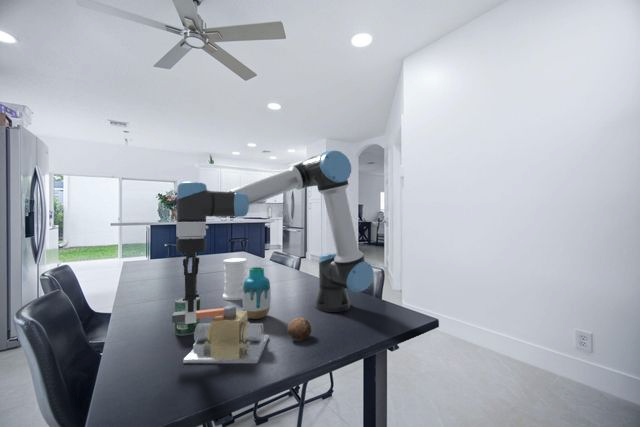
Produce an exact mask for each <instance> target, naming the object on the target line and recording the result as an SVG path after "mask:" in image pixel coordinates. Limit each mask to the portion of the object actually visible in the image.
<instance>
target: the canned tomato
mask: <svg viewBox="0 0 640 427" xmlns="http://www.w3.org/2000/svg"><path fill="white" fill-rule="evenodd" d="M183 298H185V295H184V296H180V297H177V298H176V299H175V300H174V312H180V311H185V302H186V301H183ZM196 298H197V305H196V311H200V310H201V297H200V296H199V297H196ZM199 323H201V318H199V319H196V323H190V324H185V321H184V322H176V323H174V334H175V335H176V336H181V337H183V336H188V335H189V336H190V335H194V332H195V328H196V326H197V324H199Z"/></svg>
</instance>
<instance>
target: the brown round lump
mask: <svg viewBox="0 0 640 427" xmlns="http://www.w3.org/2000/svg"><path fill="white" fill-rule="evenodd" d="M286 331H287V334H288V336H289V337H290V338H291V339H292V340H294V341H298V342H301V341H305V340H307V339H308V338H310V336H311V334H312V326H311V323H310V322H309V321H308V320H307V318H304V317H296V318H293V319H292V320H291V321H289V323H288V324H287V328H286Z"/></svg>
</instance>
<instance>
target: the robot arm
mask: <svg viewBox="0 0 640 427" xmlns="http://www.w3.org/2000/svg"><path fill="white" fill-rule="evenodd" d="M351 174H352V164H351V161H350V159H349V158H348V156H347V155H346V154H344V153H343V152H342V151H340V150H334V149H333V150H328V151H325V152H323V153H320V154H318V155H315V156H311V157H309V158H308V159H306V160H303V161H302V162H299V163H298V164H295V165H293V166H290V167H289V168H288V170H285V171H283V172H279V173H277V174H274V175H271V176H267V177H264V178H261V179H259V180H255V181H253V182H250V183H247V184H244V185H241V186H238V187H235V188H232V189H229V190H225V191H214V190H213V191H212V190H208V188H207V185H206V184H205V183H203V182H196V181H183V182H180V183H179V184H178V185H177V191H176V192H177V193H176V224H175V225H176V226H175V227H176V235H175V236H176V237H177V239H176V241H175V242H176V248H175V249H176V252H177V253H179V254H180V253H181V254H185V258H183V259H182V266H183V275H184V288H185V289H184V296H185V298H183V301H186V302H185V324H190V323H196V305H197V298H196V297H200V294H199V293H198V290H197V285H198V284H197V282H198V281H197V280H198V278H197V277H198V274H199V264H200V257H197V253H203V252H205V251H206V250H207V239H206V238H205V236H207V229H209V225H206V224H207V217H215V218H220V217H221V218H222V217H224V218H226V217H228V218H229V217H230V218H232V217H233V218H240V217H246V216H247V215H248V213H249V210H250V206H253V205H255V204H257V203H260V202H263V201H265V200H268V199H271V198H274V197H276V196H279V195H281V194H285V193H286V192H290V191H293V190H295V189H296V190H302V189H306V188H309V187H311V188H312V187H316V186H317V191H318V192H319V193H320V194H321V195H323V199H324V204H325V208H326V212H327V213H326V214H327V216H328V220H329V226H330V231H331V233H332V234H331V235H332V238H333V244H334V247H335V252H334V253H324V254H321V255H320V256H319V257H318V281H319V282H318V291H317V295H316V298H315V303H314V307H315V308H316V309H317V310H319V311H322V312H326V313H340V312H346V311H348V310H349V309H350V308H351V301H350V298H349V295H348V291H347V290H349V291H350V292H356V293H360V292H361V293H362V292H363V291H366V290H367V289H368V288H369V287H370V285H371V283H372V281H373V280H374V279H373V278H374V269H373V267H372V265H371V264H370V263H369V262H368V261H366V260H365V257H364V256H365V255H364V253H363V252H362V251H361V250H359V246H358V241H357V237H356V232H355V227H354V223H353V219H352V215H351V214H352V213H351V209H350V203H349V200H348V195H347V188H348V186H349V180H348V179H349V178H350V177H351ZM197 293H198V294H197Z"/></svg>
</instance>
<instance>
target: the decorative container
mask: <svg viewBox="0 0 640 427" xmlns="http://www.w3.org/2000/svg"><path fill="white" fill-rule="evenodd" d="M247 261H248V260H247V258H245V257H235V258H234V257H233V258H226V259H223V265H224V268H223V269H224V282H223V283H224V288H223V289H224V293H223V294H222V299H223V300H226V301H238V300H243V284H244V281H245V280H246V279H247V278H246V275H247V272H246V268H247V266H246V263H247Z"/></svg>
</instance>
